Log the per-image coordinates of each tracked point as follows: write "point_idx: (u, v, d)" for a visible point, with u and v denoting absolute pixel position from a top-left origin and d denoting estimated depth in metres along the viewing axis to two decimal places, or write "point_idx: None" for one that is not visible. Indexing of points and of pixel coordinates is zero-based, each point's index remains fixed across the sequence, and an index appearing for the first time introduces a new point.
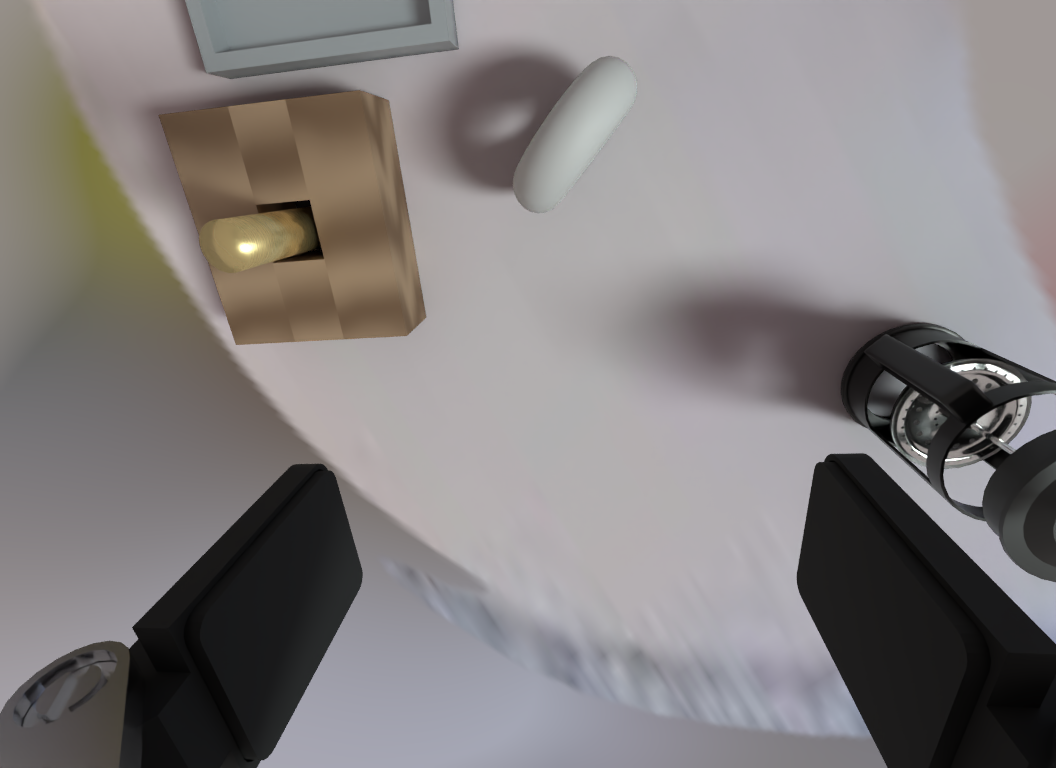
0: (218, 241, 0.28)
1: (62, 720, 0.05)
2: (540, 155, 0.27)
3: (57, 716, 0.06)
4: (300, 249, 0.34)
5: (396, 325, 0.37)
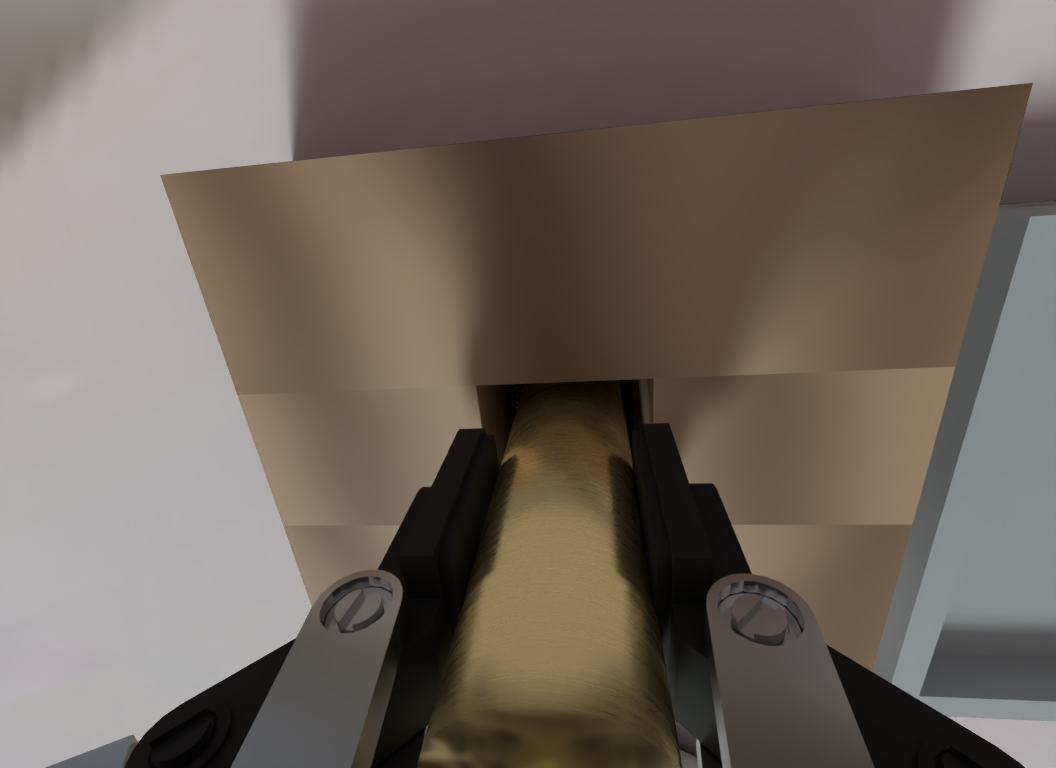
0: None
1: (346, 635, 0.06)
2: None
3: (345, 626, 0.06)
4: None
5: None
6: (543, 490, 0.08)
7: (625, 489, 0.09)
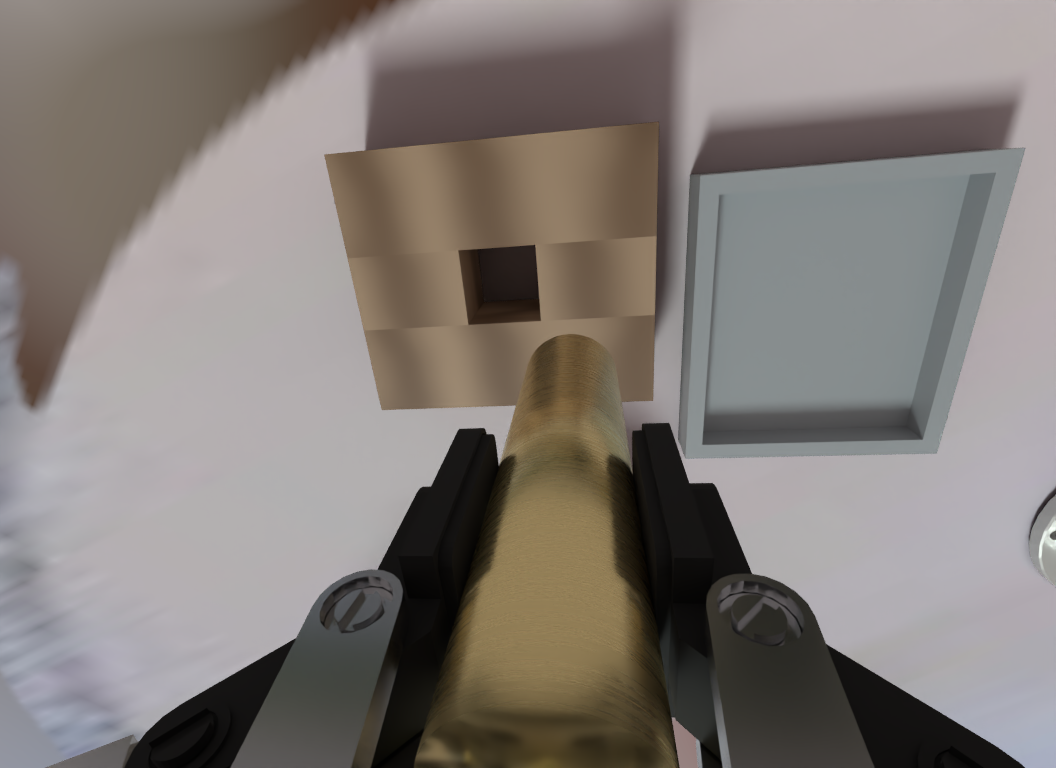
0: None
1: (346, 635, 0.06)
2: None
3: (345, 626, 0.06)
4: None
5: (393, 399, 0.29)
6: (541, 490, 0.08)
7: (622, 488, 0.09)
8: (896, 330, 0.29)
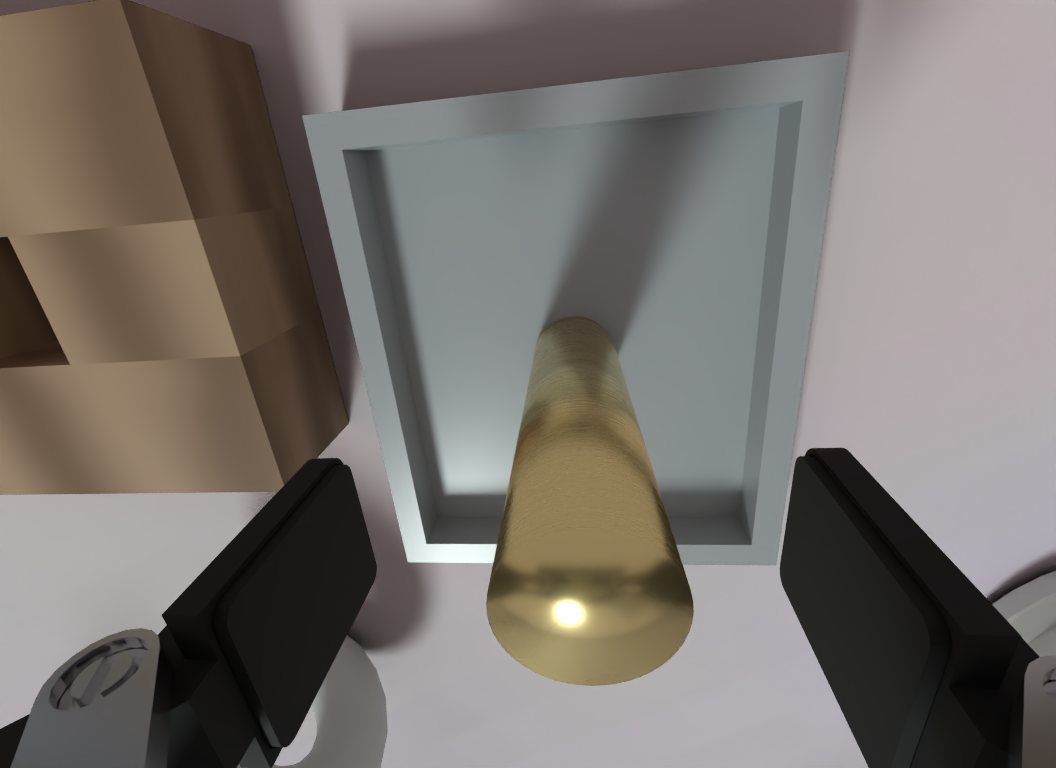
0: (610, 599, 0.07)
1: (94, 705, 0.06)
2: None
3: (90, 700, 0.06)
4: None
5: None
6: (567, 416, 0.10)
7: (631, 420, 0.11)
8: (700, 374, 0.18)
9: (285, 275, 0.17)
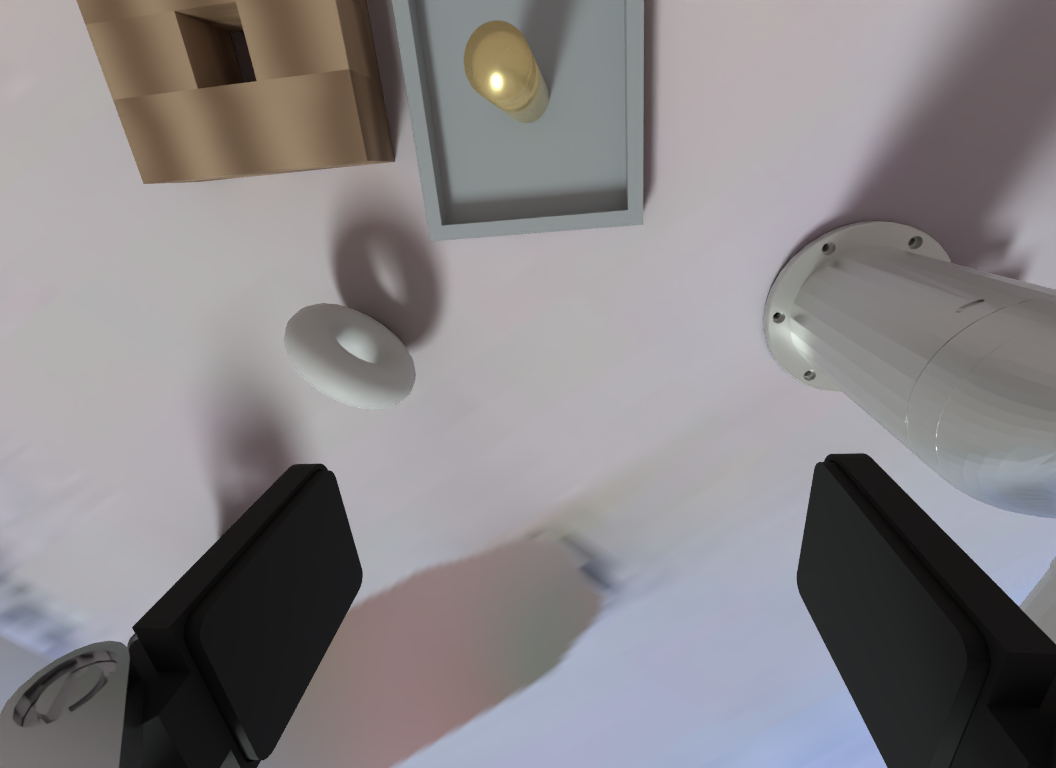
0: (503, 53, 0.22)
1: (62, 720, 0.05)
2: (307, 354, 0.32)
3: (57, 716, 0.06)
4: None
5: (151, 172, 0.33)
6: None
7: None
8: (596, 106, 0.32)
9: (365, 46, 0.32)
